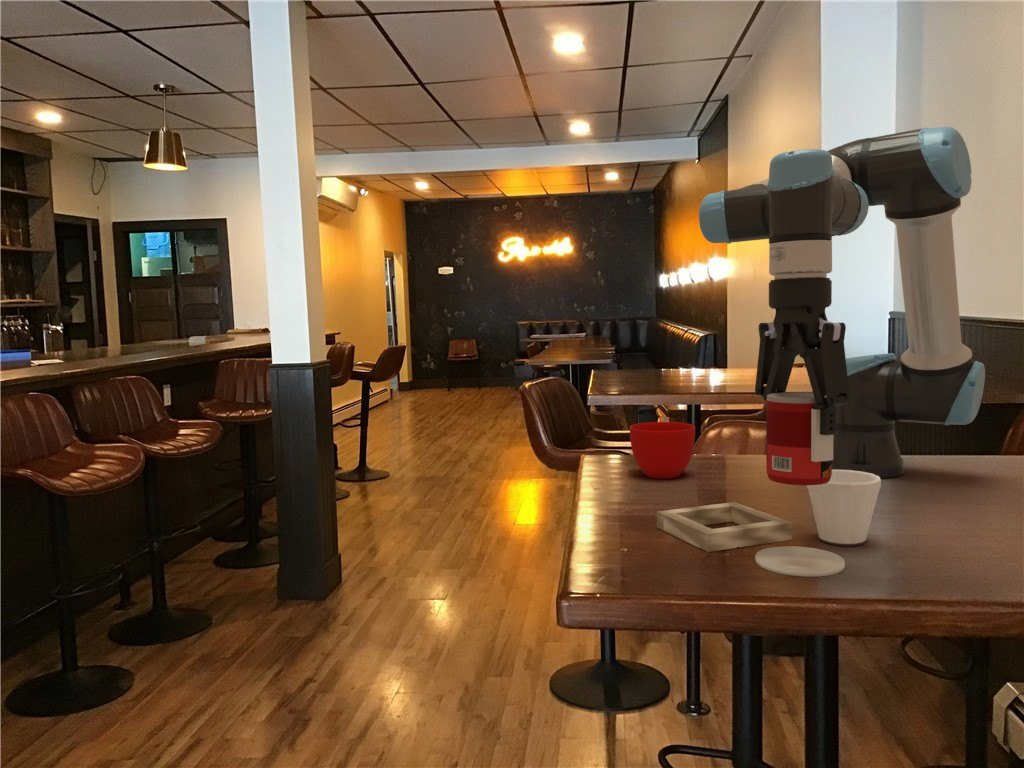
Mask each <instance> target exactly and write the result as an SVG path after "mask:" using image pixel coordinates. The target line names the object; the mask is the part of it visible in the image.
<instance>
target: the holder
mask: <svg viewBox="0 0 1024 768" xmlns="http://www.w3.org/2000/svg"><path fill="white" fill-rule="evenodd" d="M724 522H725V523H733V522H734V523H733V524H736V523H737V524H736V525H732V526H724V527H718V528H711V527H708V526H710V525H716V524H723V523H724ZM738 524H739V525H738ZM656 528H657V529H659V530H661V531H662V532H663V531H664V532H665V533H668V534H670V535H672V536H674V537H676V538H678V539H679V540H682V541H684V542H686V543H689V544H690V545H693V546H694V547H697V548H699V549H700V550H703V551H704V552H706V553H710V552H711V553H712V552H718V551H723V550H731V549H738V548H737V547H739V548H745V546H746V547H753V546H760V545H765V544H773V543H780V542H786V541H792V540H793V522H792V521H788V520H785V519H783V518H781V517H780V518H779V517H777V516H774V515H772V514H768V513H766V512H763V511H760V510H758V509H755V508H753V507H751V506H747V505H744V504H742V503H738V502H736V501H731V502H724V503H723V502H721V503H716V504H715V503H714V504H708V505H707V504H706V505H700V506H692V507H683V508H674V509H668V510H667V509H666V510H659V511H656Z"/></svg>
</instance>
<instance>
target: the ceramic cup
mask: <svg viewBox="0 0 1024 768" xmlns="http://www.w3.org/2000/svg"><path fill="white" fill-rule="evenodd" d="M629 439H630V440H629V441H630V447H631V452H632V455H633V458H634V460H635V462H636V464H637V465H638V467H639V468H640V469H641V471H642V472H643V473H644V474H645V476H647V477H648V478H652V479H664V480H665V479H666V478H667V479H675V478H678V477H680V476H681V474H682V473H683V471H684V470H686V468H687V466H688V465H689V463H690V461H691V459H692V455H693V453H694V447H695V439H696V426H695V425H694V424H691V423H687V422H677V421H652V422H650V421H649V422H639V423H635V424H632V425H630V426H629Z"/></svg>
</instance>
